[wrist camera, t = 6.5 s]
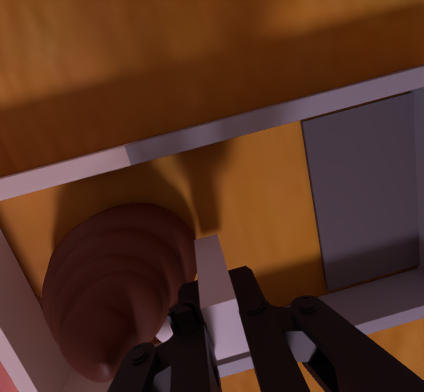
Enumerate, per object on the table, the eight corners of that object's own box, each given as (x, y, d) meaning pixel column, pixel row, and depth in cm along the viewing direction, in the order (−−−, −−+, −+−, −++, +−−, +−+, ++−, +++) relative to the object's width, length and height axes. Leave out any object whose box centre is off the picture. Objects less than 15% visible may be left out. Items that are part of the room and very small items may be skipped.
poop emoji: (155, 173, 18) (127, 226, 9) (221, 270, 20) (252, 389, 11) (30, 251, 18) (-117, 377, 9) (108, 337, 21) (52, 502, 12)
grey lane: (423, 64, 18) (479, 51, 14) (429, 275, 22) (473, 302, 19) (136, 141, 17) (124, 146, 14) (201, 341, 22) (205, 382, 18)
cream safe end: (136, 141, 17) (124, 146, 14) (201, 341, 22) (205, 382, 18) (-40, 187, 17) (-95, 204, 13) (64, 381, 21) (42, 430, 18)
